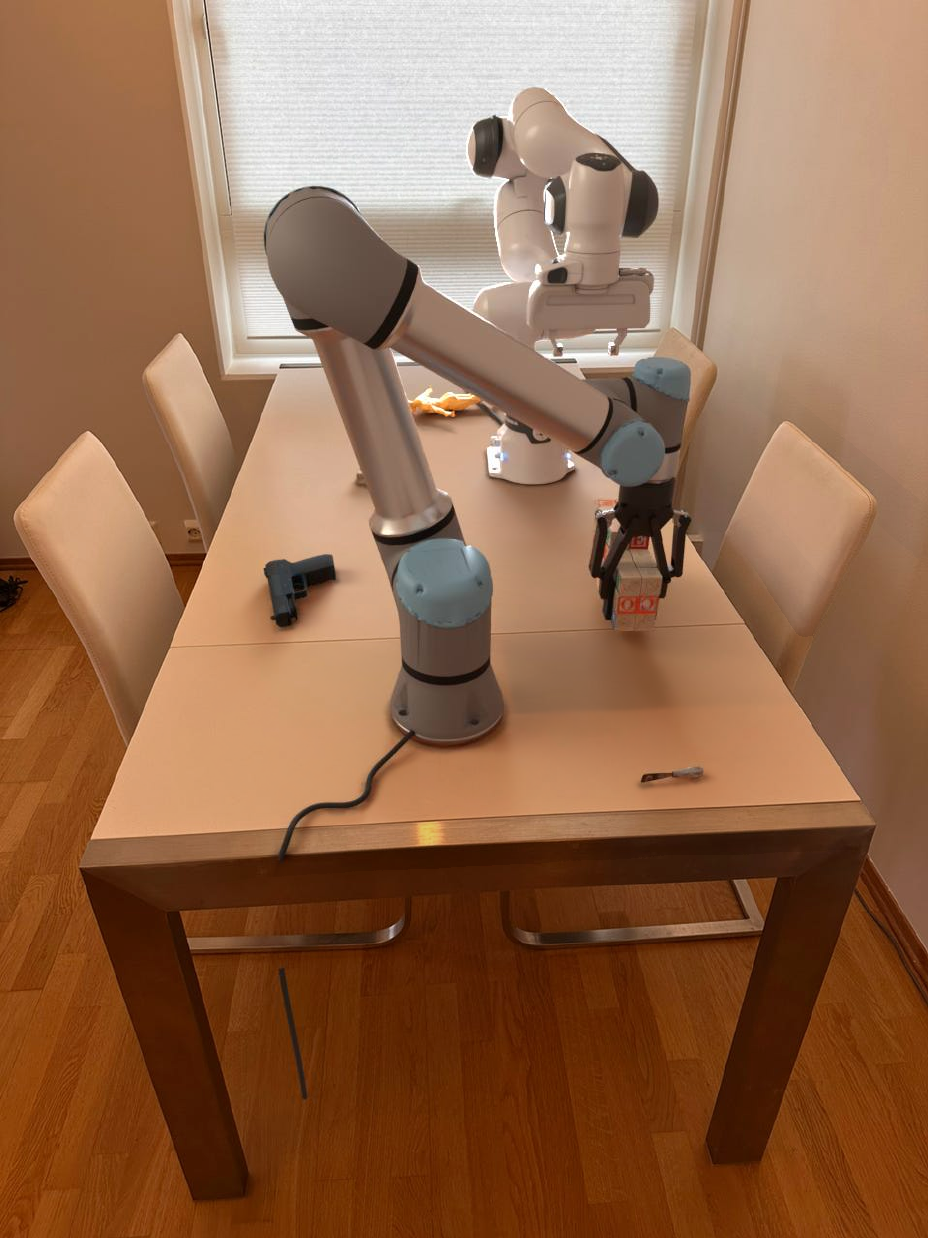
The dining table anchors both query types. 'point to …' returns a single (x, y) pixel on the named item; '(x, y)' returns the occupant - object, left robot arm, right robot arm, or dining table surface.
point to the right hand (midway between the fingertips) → (585, 355)
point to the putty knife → (674, 774)
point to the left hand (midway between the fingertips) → (628, 615)
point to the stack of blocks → (632, 580)
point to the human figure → (443, 402)
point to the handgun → (295, 583)
